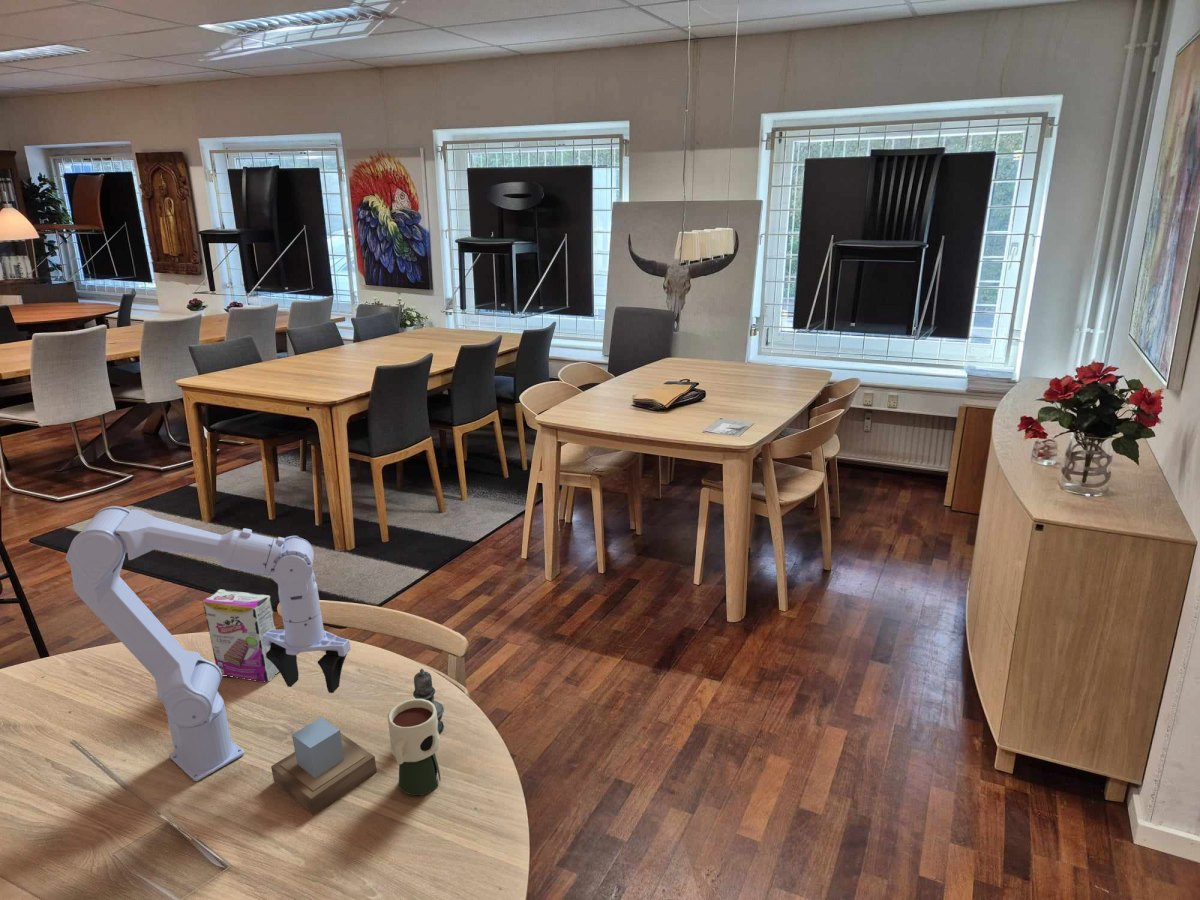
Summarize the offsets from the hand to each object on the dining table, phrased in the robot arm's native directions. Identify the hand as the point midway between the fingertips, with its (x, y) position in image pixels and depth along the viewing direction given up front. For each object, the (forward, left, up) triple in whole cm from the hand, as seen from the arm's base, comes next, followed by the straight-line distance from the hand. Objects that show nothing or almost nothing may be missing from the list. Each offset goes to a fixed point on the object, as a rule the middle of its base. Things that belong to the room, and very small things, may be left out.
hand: (313, 686), depth 123 cm
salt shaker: (+13, +12, -10) cm, 20 cm away
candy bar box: (-27, +2, -10) cm, 29 cm away
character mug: (+22, +3, -10) cm, 24 cm away
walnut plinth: (+9, -5, -10) cm, 14 cm away
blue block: (+9, -5, -7) cm, 12 cm away
